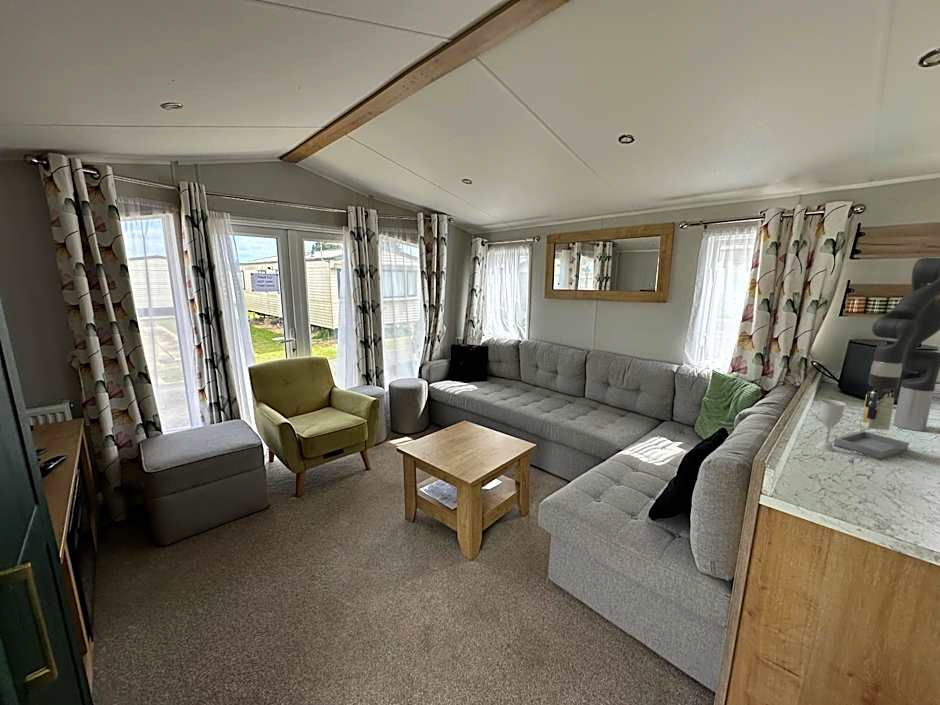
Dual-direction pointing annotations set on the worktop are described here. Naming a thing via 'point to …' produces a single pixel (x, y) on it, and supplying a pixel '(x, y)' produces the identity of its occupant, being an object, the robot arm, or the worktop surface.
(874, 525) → the worktop surface
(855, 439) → the tray
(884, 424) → the skincare box
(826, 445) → the chalice
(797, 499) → the worktop surface
